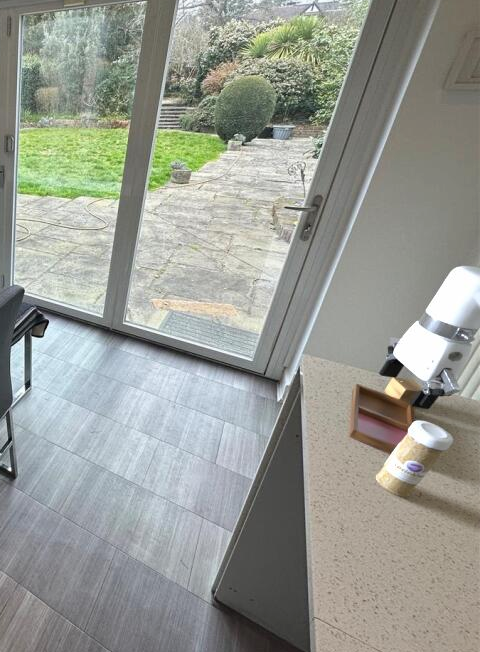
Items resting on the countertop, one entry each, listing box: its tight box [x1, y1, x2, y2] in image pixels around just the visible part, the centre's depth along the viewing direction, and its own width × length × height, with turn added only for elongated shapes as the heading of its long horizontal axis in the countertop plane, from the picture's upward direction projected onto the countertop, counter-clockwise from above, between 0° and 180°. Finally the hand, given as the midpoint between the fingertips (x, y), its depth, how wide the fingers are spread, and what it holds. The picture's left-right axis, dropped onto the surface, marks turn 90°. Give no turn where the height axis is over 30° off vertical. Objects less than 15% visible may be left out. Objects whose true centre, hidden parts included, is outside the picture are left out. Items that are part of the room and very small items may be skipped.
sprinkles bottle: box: [375, 420, 454, 498], centre depth 68 cm, size 5×5×14 cm
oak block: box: [383, 377, 423, 403], centre depth 89 cm, size 4×4×4 cm
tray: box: [348, 383, 416, 455], centre depth 83 cm, size 9×18×2 cm, turn 138°
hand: (402, 390), depth 89 cm, fingers open, 9 cm apart
